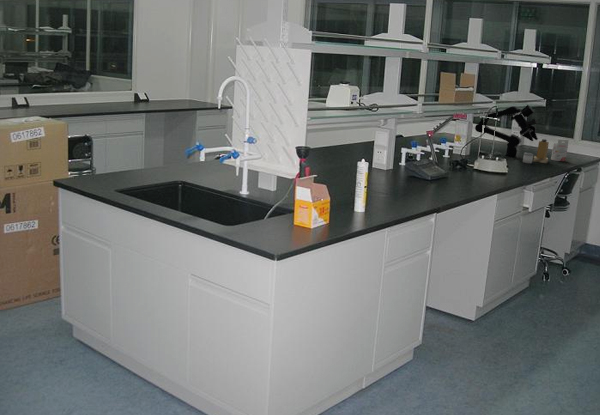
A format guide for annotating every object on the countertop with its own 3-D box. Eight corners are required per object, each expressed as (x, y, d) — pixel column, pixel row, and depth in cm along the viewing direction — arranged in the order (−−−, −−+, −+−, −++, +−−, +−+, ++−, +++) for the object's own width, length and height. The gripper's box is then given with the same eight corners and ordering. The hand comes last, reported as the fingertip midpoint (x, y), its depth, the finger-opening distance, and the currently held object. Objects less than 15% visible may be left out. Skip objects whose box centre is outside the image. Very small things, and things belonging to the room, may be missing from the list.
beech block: (533, 162, 468) (533, 157, 467) (533, 160, 476) (534, 156, 475) (547, 164, 465) (547, 159, 464) (547, 162, 473) (548, 158, 472)
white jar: (522, 162, 459) (523, 153, 458) (522, 161, 465) (524, 152, 463) (531, 163, 457) (533, 154, 456) (532, 162, 463) (533, 153, 461)
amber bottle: (536, 157, 469) (539, 139, 466) (538, 156, 473) (541, 138, 470) (543, 158, 466) (546, 140, 463) (546, 158, 470) (549, 139, 467)
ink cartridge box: (560, 159, 486) (564, 139, 482) (565, 161, 481) (569, 140, 477) (550, 159, 483) (554, 138, 480) (554, 160, 479) (558, 139, 475)
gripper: (526, 115, 461) (540, 134, 458) (535, 113, 476) (549, 132, 473) (513, 125, 468) (527, 144, 464) (522, 123, 483) (535, 142, 479)
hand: (535, 140), depth 470 cm, fingers open, 9 cm apart
